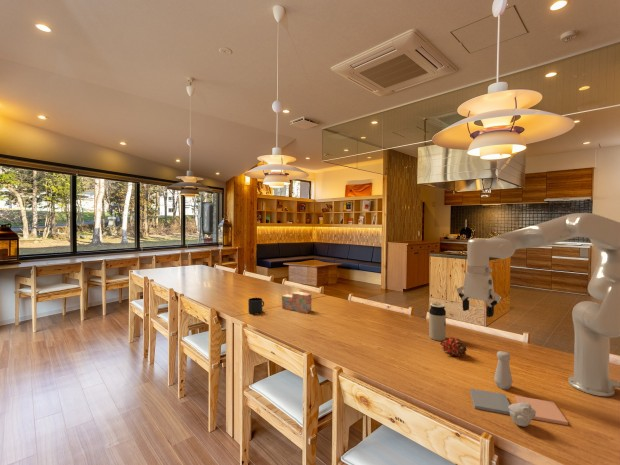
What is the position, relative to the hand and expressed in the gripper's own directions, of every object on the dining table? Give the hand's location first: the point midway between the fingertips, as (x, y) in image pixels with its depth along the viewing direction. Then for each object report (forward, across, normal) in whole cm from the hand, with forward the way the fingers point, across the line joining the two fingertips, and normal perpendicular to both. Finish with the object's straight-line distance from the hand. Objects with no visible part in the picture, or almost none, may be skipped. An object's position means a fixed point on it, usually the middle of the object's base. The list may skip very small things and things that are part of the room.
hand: (477, 313), depth 121 cm
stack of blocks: (+26, +120, +18) cm, 124 cm away
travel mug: (+26, +34, -21) cm, 48 cm away
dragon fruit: (+26, +18, -10) cm, 33 cm away
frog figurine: (+26, -24, +17) cm, 39 cm away
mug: (+25, +130, +44) cm, 139 cm away
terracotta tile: (+25, -23, +4) cm, 35 cm away
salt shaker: (+26, -9, -1) cm, 27 cm away
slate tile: (+25, -13, +13) cm, 31 cm away
